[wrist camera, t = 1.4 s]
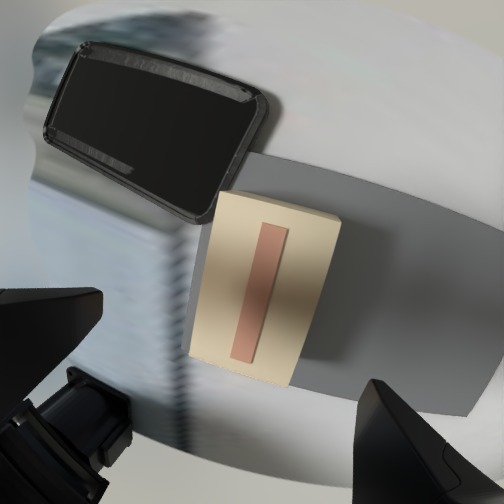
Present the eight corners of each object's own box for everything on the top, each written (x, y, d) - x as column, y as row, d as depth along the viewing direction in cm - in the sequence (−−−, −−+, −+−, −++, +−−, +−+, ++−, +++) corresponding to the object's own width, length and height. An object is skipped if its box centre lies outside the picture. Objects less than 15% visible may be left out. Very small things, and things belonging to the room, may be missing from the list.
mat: (184, 346, 18) (180, 349, 18) (222, 146, 16) (219, 145, 15) (464, 412, 15) (466, 416, 15) (539, 250, 12) (543, 251, 12)
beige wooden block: (293, 356, 16) (286, 389, 14) (208, 330, 17) (188, 356, 14) (337, 215, 15) (341, 222, 12) (238, 190, 15) (218, 191, 12)
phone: (80, 39, 15) (274, 95, 14) (90, 44, 16) (277, 101, 15) (38, 139, 17) (205, 234, 16) (49, 140, 18) (212, 231, 17)
